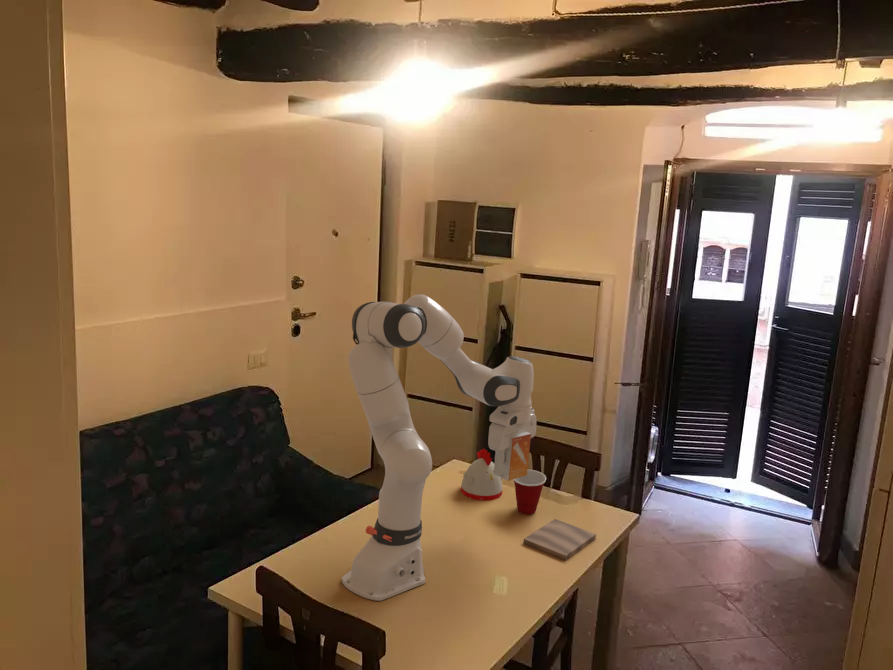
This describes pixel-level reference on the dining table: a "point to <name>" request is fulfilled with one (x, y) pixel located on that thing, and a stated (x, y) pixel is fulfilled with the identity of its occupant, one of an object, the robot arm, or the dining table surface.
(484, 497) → the kitchen timer
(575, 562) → the dining table surface
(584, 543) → the walnut board
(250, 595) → the dining table surface
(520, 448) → the small box
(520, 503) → the plastic cup
